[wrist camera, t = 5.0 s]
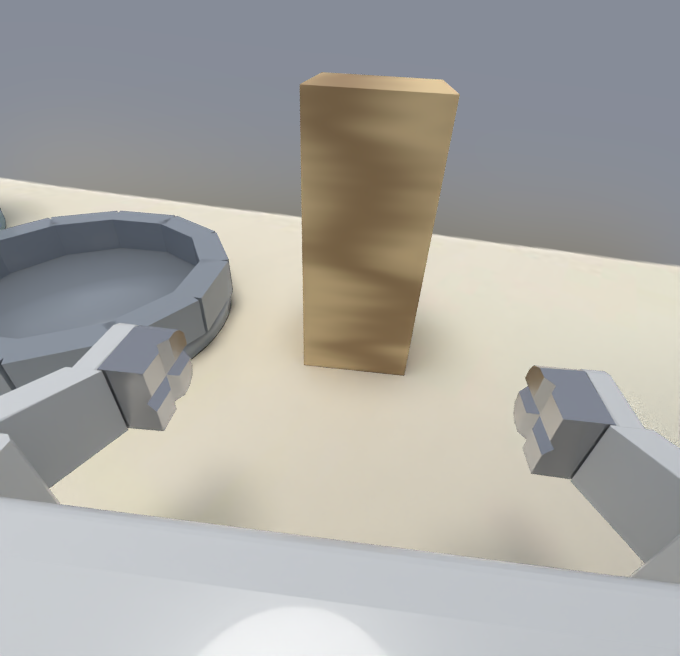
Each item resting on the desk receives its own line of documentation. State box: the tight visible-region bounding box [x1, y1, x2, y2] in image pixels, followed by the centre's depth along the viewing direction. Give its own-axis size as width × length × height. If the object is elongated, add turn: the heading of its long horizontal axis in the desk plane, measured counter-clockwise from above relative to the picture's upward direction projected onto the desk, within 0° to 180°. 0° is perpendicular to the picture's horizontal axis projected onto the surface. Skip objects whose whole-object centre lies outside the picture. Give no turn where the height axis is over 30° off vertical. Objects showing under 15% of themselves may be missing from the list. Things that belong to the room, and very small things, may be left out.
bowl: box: [0, 211, 233, 396], centre depth 21 cm, size 15×15×3 cm
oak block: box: [300, 72, 459, 375], centre depth 18 cm, size 5×5×12 cm
